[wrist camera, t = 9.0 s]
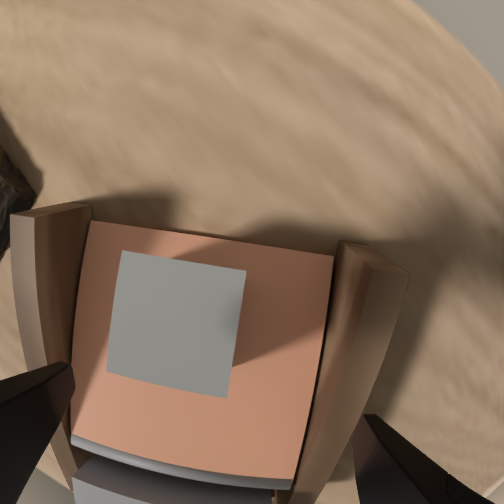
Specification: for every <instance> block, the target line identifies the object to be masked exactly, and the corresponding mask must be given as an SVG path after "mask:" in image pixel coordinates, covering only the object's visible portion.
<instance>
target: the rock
mask: <svg viewBox="0 0 504 504" xmlns="http://www.w3.org/2000/svg"><path fill="white" fill-rule="evenodd" d="M36 196H37V194H36V193H35V192H34V191H33V190H32V188H31V187H30V185H29V184H28V182H27V181H26V179H25V177H24V176H23V175H22V173H21V172H20V171H19V169H15V168H14V167H13V165H12V164H11V162H10V160H9V157H8V155H7V153H5V152H4V151H3V150H2V148H1V147H0V254H1V252H2V251H3V250H4V249H5V248H6V246H7V244H8V242H9V241H10V214H13V213H18V212H22V211H27V210H30V207H31V205H32V203H33V201H34V197H36Z"/></svg>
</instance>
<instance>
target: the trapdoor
mask: <svg viewBox="0 0 504 504" xmlns="http://www.w3.org/2000/svg"><path fill="white" fill-rule="evenodd" d="M122 250H124V251H130V252H135V253H141V254H147V255H153V256H159V257H165V258H171V259H176V260H182V261H189V262H195V263H201V264H207V265H213V266H219V267H225V268H232V269H238V270H244V271H247V272H246V279H245V285H244V291H243V298H242V304H241V311H240V317H239V323H238V330H237V336H236V343H235V349H234V356H233V362H232V369H231V375H230V382H229V388H228V394H227V398H222V397H216V396H210V395H204V394H199V393H194V392H188V391H183V390H179V389H174V388H169V387H165V386H160V385H156V384H152V383H148V382H144V381H140V380H136V379H132V378H128V377H124V376H121V375H117V374H114V373H110V372H107V371H106V365H107V354H108V343H109V334H110V325H111V317H112V310H113V302H114V295H115V289H116V282H117V276H118V270H119V265H120V259H121V254H122ZM333 260H334V256H329V255H323V254H316V253H310V252H303V251H297V250H290V249H284V248H277V247H271V246H264V245H257V244H251V243H244V242H238V241H231V240H224V239H218V238H211V237H204V236H197V235H191V234H184V233H177V232H170V231H163V230H157V229H150V228H143V227H136V226H129V225H122V224H115V223H108V222H101V221H94V220H91V223H90V227H89V232H88V237H87V242H86V247H85V252H84V258H83V263H82V269H81V276H80V282H79V289H78V296H77V304H76V313H75V322H74V333H73V346H72V362H71V366H72V368H73V373H74V378H75V384H76V388H75V392H74V394H73V396H72V398H71V400H70V407H71V444H72V445H74V446H77V447H79V448H82V449H84V450H87V451H90V452H93V453H94V455H93V456H92V457H91V458H90V459H89V460H88V461H87V462H86V463H85V464H84V465H83V466H82V467H81V468H80V469H79V470H78V471H77V472H76V473H75V474H74V475H73V476H72V483H73V491H74V498H75V504H272V497H271V491H270V489H278V490H290V488H291V485H292V482H293V478H294V474H295V471H296V467H297V463H298V459H299V454H300V450H301V446H302V442H303V438H304V433H305V429H306V424H307V420H308V415H309V410H310V405H311V400H312V395H313V390H314V385H315V380H316V374H317V369H318V363H319V358H320V352H321V346H322V340H323V334H324V327H325V321H326V314H327V307H328V300H329V292H330V284H331V277H332V268H333Z"/></svg>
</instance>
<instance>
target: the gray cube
mask: <svg viewBox="0 0 504 504" xmlns="http://www.w3.org/2000/svg"><path fill="white" fill-rule="evenodd" d="M246 272H247V271H244V270H238V269H232V268H225V267H219V266H213V265H207V264H201V263H195V262H189V261H182V260H176V259H171V258H165V257H159V256H153V255H147V254H141V253H135V252H130V251H124V250H122V254H121V259H120V265H119V270H118V276H117V282H116V289H115V295H114V302H113V310H112V317H111V325H110V334H109V343H108V354H107V365H106V371H107V372H110V373H114V374H117V375H121V376H124V377H128V378H132V379H136V380H140V381H144V382H148V383H152V384H156V385H160V386H165V387H169V388H174V389H179V390H183V391H188V392H194V393H199V394H204V395H210V396H216V397H222V398H227V394H228V388H229V382H230V375H231V369H232V362H233V356H234V349H235V343H236V336H237V330H238V323H239V317H240V311H241V304H242V298H243V291H244V285H245V279H246Z"/></svg>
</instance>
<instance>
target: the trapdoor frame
mask: <svg viewBox="0 0 504 504" xmlns="http://www.w3.org/2000/svg"><path fill="white" fill-rule="evenodd" d="M91 216H92V205H89V204H81V203H72V202H68V203H62V204H57V205H52V206H47V207H42V208H37V209H32V210H27V211H22V212H18V213H13V214H10V249H11V267H12V279H13V289H14V298H15V306H16V313H17V320H18V326H19V332H20V337H21V342H22V347H23V352H24V357H25V361H26V366H27V370H28V371H31V370H34V369H38V368H41V367H44V366H47V365H49V364H52V363H55V362H58V361H63V362H66V363H68V364H70V365H71V362H72V346H73V333H74V322H75V313H76V304H77V296H78V289H79V282H80V276H81V269H82V263H83V258H84V252H85V247H86V242H87V237H88V232H89V227H90V223H91ZM409 278H410V274H409V273H408V272H406V271H405V270H403V269H402V268H400V267H399V266H398V265H396V264H395V263H393V262H392V261H390V260H389V259H387V258H386V257H384V256H383V255H381V254H380V253H379V252H377V251H376V250H374V249H373V248H371V247H370V246H368V245H363V244H357V243H351V242H346V241H340V240H339V244H338V249H337V254H336V259H335V264H334V268H333V273H332V277H331V284H330V292H329V300H328V307H327V314H326V321H325V327H324V334H323V340H322V346H321V352H320V358H319V363H318V369H317V374H316V380H315V385H314V390H313V395H312V400H311V405H310V410H309V415H308V420H307V424H306V429H305V433H304V438H303V442H302V446H301V450H300V454H299V459H298V463H297V467H296V471H295V474H294V478H293V482H292V485H291V488H290V490H278V489H270V491H271V497H272V504H314V503H315V501H316V499H317V498H318V496H319V494H320V493H321V491H322V489H323V488H324V486H325V484H326V483H327V481H328V479H329V477H330V475H331V474H332V472H333V470H334V468H335V466H336V464H337V463H338V461H339V459H340V457H341V455H342V453H343V451H344V449H345V447H346V445H347V443H348V441H349V439H350V437H351V435H352V433H353V431H354V429H355V427H356V425H357V422H358V420H359V418H360V416H361V414H362V411H363V409H364V407H365V405H366V402H367V400H368V398H369V395H370V393H371V391H372V388H373V386H374V383H375V381H376V378H377V376H378V373H379V371H380V368H381V365H382V363H383V360H384V357H385V355H386V352H387V349H388V346H389V343H390V341H391V338H392V335H393V332H394V329H395V326H396V323H397V319H398V316H399V313H400V310H401V307H402V303H403V300H404V296H405V293H406V289H407V286H408V282H409ZM50 444H51V446H52V449H53V451H54V454H55V456H56V459H57V461H58V463H59V466H60V468H61V470H62V472H63V475H64V477H65V479H66V481H67V483H68V485H69V487H70V489H71V491H73V483H72V476H73V475H74V474H75V473H76V472H77V471H78V470H79V469H80V468H81V467H82V466H83V465H84V464H85V463H86V462H87V461H88V460H89V459H90V458H91V457H92V456H93V455H94V453H93V452H90V451H87V450H84V449H82V448H79V447H77V446H74V445H72V444H71V407H70V403H69V405H68V407H67V409H66V411H65V414H64V416H63V418H62V420H61V422H60V425H59V426H58V428H57V430H56V432H55V434H54V435H53V437H52V439H51V440H50Z"/></svg>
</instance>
